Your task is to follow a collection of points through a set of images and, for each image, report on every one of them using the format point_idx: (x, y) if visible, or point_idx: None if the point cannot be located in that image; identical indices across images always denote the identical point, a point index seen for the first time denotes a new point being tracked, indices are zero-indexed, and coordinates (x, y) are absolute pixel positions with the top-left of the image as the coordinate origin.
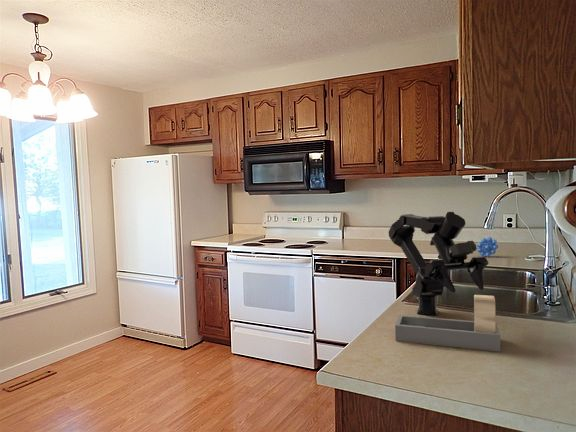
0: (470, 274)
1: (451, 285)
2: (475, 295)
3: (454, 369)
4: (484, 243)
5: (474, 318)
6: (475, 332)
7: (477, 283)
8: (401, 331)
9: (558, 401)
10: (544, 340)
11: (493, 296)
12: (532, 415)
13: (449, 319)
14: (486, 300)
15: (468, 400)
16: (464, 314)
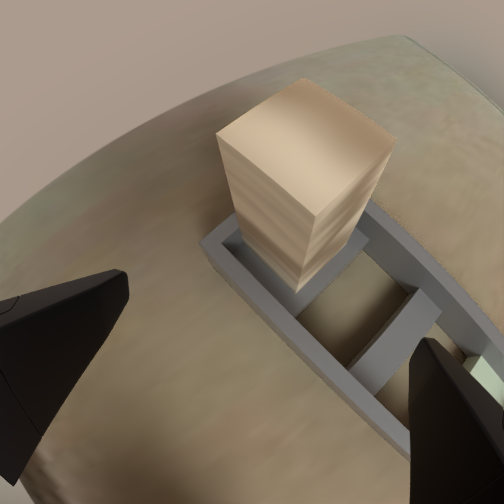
0: (5, 471)
1: (462, 370)
2: (325, 194)
3: (478, 176)
4: None
5: (329, 245)
6: (374, 206)
7: (84, 344)
8: None
9: (375, 48)
10: (112, 190)
11: (232, 124)
12: (432, 55)
13: (351, 392)
14: (342, 102)
15: (492, 107)
16: (94, 498)
